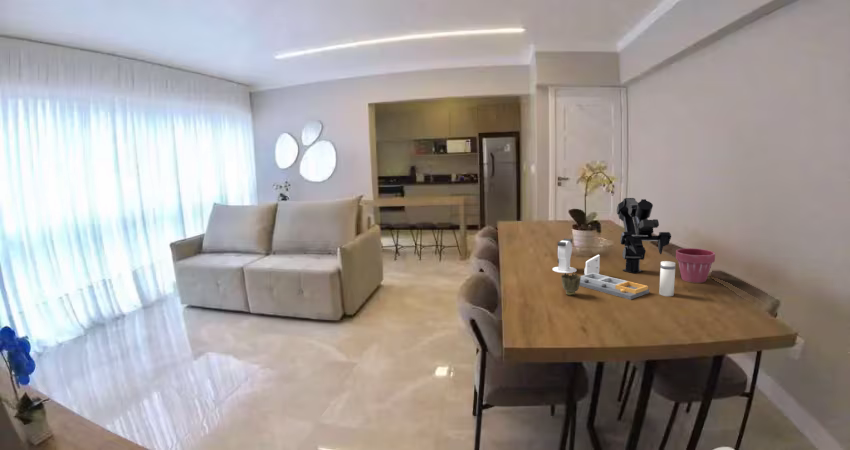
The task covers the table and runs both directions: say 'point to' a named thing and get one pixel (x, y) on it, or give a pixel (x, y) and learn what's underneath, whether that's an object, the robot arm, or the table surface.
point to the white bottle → (667, 278)
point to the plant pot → (694, 264)
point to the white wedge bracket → (592, 265)
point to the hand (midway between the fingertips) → (648, 253)
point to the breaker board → (613, 286)
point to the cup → (570, 283)
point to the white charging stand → (564, 257)
